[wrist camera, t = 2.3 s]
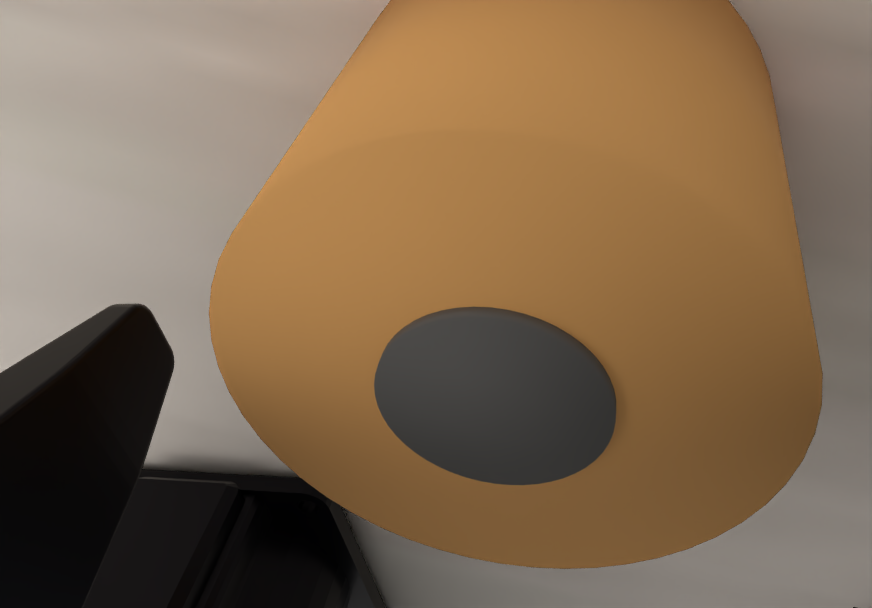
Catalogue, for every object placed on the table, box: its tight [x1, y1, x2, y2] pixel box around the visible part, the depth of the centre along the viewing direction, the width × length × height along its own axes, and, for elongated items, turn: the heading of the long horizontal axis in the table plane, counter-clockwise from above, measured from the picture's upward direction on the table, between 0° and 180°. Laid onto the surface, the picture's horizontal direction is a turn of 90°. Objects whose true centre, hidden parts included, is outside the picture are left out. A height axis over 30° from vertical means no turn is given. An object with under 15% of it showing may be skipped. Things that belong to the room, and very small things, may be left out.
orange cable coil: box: [209, 0, 823, 569], centre depth 10 cm, size 6×6×5 cm
